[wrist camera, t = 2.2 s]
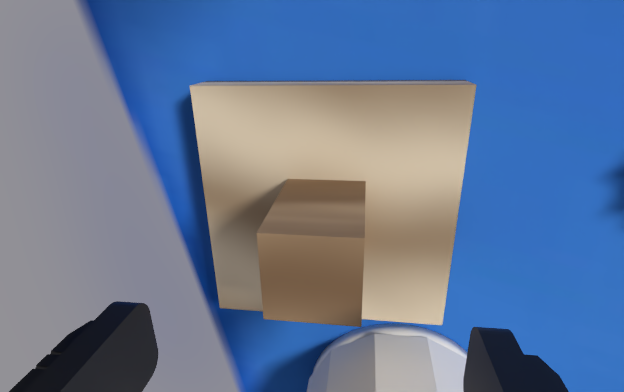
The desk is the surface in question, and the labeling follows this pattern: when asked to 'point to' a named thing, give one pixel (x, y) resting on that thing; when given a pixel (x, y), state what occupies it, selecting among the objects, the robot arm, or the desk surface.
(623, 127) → the desk surface
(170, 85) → the desk surface
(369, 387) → the bowl
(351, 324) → the lid
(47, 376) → the robot arm
